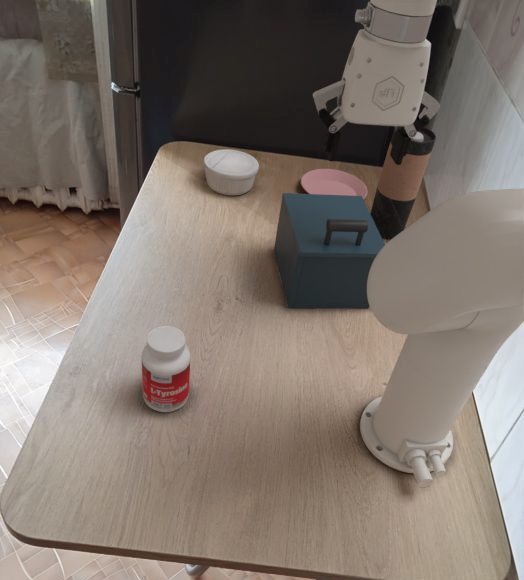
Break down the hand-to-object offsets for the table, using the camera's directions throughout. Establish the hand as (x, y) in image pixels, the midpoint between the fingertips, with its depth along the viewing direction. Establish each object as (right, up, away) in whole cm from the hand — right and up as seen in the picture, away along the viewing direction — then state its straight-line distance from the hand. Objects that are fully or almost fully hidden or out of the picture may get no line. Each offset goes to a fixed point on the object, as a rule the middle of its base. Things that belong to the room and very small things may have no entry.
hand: (362, 158), depth 80 cm
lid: (-3, -7, +12) cm, 14 cm away
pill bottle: (-27, -33, -2) cm, 43 cm away
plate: (+1, +6, +42) cm, 42 cm away
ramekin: (-21, +7, +39) cm, 45 cm away
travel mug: (+10, -3, +34) cm, 36 cm away
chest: (-4, -14, +20) cm, 25 cm away
